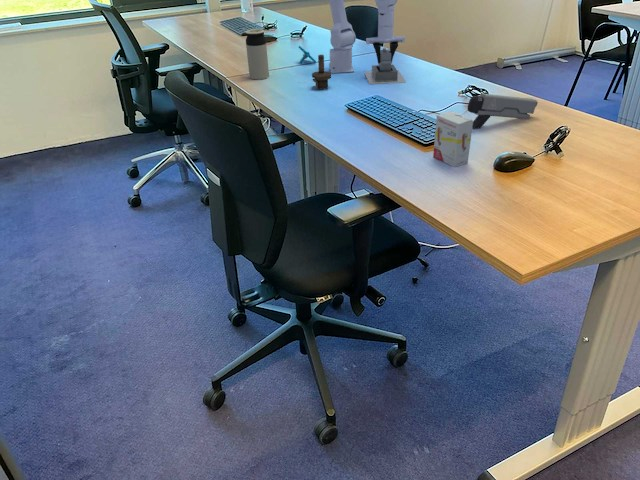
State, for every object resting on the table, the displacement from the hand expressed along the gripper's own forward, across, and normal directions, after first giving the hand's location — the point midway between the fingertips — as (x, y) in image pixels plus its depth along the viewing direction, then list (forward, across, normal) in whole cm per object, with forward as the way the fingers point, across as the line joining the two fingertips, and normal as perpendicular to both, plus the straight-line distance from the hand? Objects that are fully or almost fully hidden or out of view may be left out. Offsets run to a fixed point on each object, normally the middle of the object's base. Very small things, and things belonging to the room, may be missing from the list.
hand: (384, 62), depth 201 cm
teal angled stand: (+6, -30, +30) cm, 43 cm away
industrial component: (+6, -24, -9) cm, 27 cm away
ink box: (+6, +5, -81) cm, 81 cm away
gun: (+6, +27, -56) cm, 63 cm away
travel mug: (+6, -50, +10) cm, 51 cm away
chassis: (+6, 0, 0) cm, 6 cm away
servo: (+2, 0, 0) cm, 3 cm away
